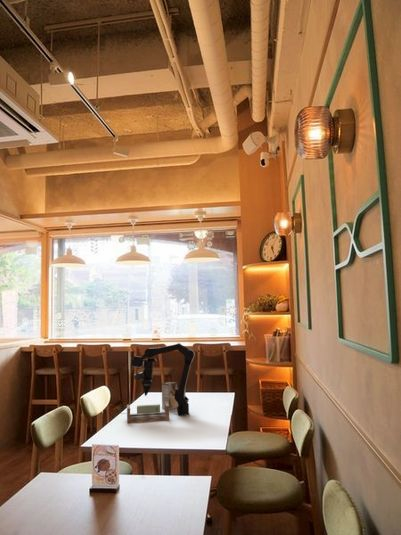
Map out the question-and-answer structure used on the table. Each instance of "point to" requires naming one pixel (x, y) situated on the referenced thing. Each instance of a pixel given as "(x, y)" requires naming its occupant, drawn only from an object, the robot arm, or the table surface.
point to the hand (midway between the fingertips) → (145, 394)
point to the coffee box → (169, 394)
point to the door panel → (148, 408)
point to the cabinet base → (148, 416)
